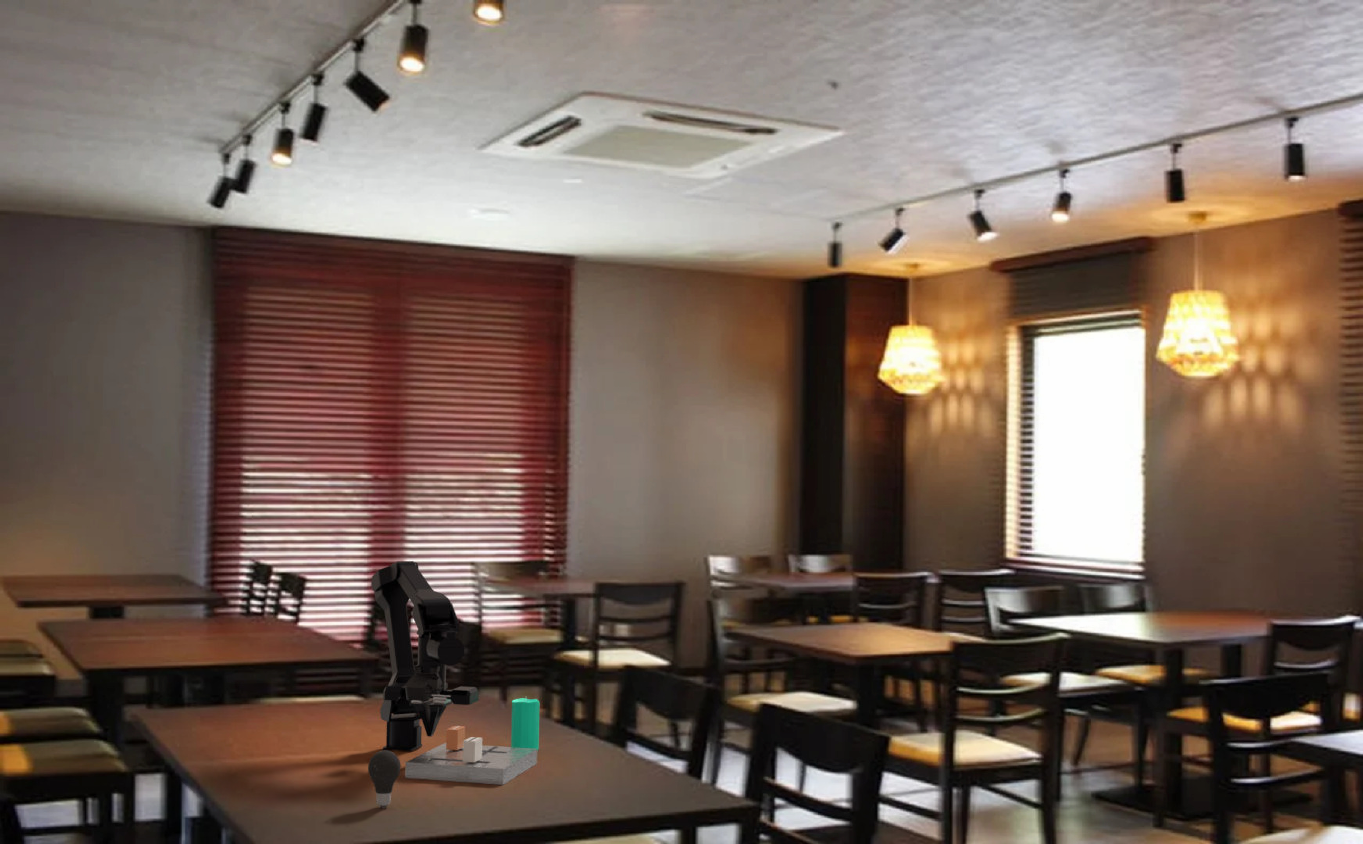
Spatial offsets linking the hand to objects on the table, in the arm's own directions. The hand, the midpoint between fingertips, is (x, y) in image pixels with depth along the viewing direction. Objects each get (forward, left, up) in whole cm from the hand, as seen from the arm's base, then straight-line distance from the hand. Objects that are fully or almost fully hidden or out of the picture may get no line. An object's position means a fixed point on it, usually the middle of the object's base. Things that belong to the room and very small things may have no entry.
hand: (430, 736), depth 287 cm
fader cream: (+13, -10, -5) cm, 17 cm away
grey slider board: (+11, -5, -5) cm, 13 cm away
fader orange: (+6, 0, -5) cm, 8 cm away
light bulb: (+7, -38, -6) cm, 39 cm away
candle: (+14, +18, -6) cm, 24 cm away
